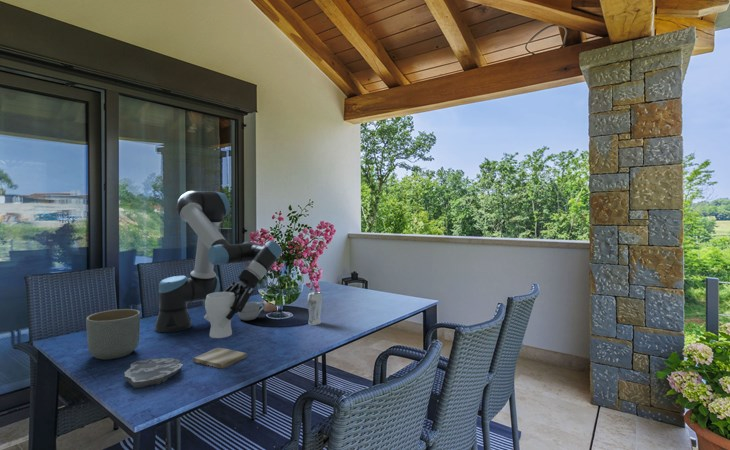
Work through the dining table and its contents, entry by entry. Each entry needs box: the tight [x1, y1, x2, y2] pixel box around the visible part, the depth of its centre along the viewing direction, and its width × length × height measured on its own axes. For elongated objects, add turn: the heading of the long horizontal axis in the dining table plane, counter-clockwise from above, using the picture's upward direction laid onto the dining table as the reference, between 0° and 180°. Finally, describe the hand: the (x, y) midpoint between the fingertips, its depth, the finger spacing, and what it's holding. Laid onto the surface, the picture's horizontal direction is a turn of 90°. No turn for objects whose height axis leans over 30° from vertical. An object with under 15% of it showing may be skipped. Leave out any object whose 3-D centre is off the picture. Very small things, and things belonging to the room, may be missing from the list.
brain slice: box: [123, 357, 184, 389], centre depth 128 cm, size 20×17×3 cm
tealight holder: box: [263, 299, 277, 313], centre depth 213 cm, size 8×8×6 cm
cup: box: [204, 291, 236, 339], centre depth 141 cm, size 11×11×15 cm
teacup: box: [237, 301, 265, 321], centre depth 195 cm, size 14×11×8 cm
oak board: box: [192, 346, 248, 370], centre depth 142 cm, size 14×12×2 cm
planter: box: [85, 308, 141, 361], centre depth 145 cm, size 17×17×15 cm
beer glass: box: [307, 291, 323, 326], centre depth 188 cm, size 7×7×15 cm
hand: (213, 322), depth 139 cm, fingers closed on cup, 10 cm apart
